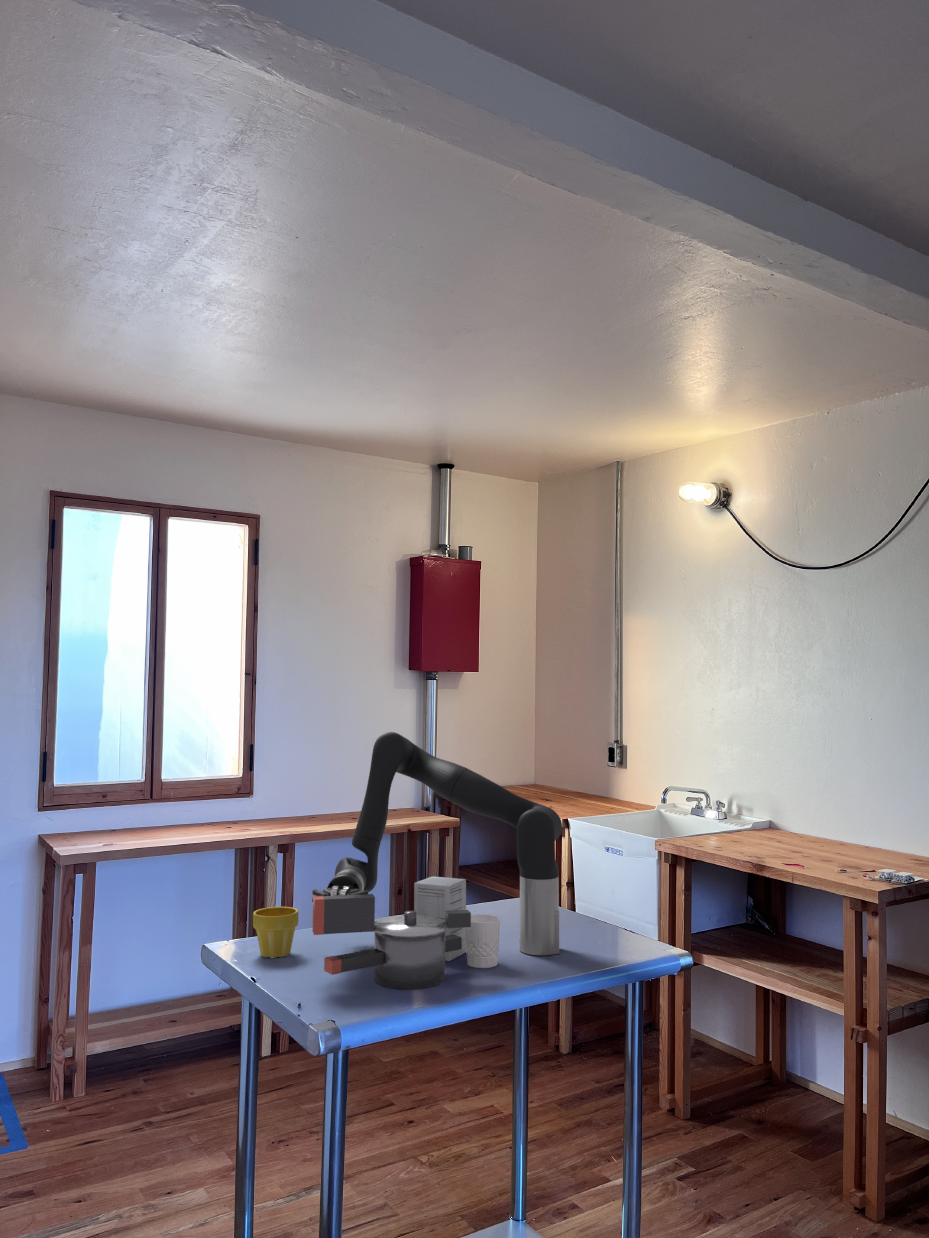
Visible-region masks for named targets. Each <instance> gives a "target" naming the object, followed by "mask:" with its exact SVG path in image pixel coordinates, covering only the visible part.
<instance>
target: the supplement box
mask: <svg viewBox="0 0 929 1238" xmlns="http://www.w3.org/2000/svg"><path fill="white" fill-rule="evenodd" d="M413 890H414V891H413V893H414V894H413V897H414V898H413V899H414V900H413V906H414V909H413V911H416V912H417V915H422V916H431V917H436V918H440V919H443V920H445V911H451V910H467V879H465V878H455V877H443V876H430V877H427V878H425V879H421V880H417V882H416V881H415V882H414V884H413ZM447 935H456V936H459V937H462V949H460V950H455V951H450V952H445V962H451V961H452V960H454V959H456V958H458V957H460V956H461V955H463V954H465V953H467V950H466V928H465V927H464V928H447V931H446V932H445V936H447Z"/></svg>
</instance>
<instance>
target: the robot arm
mask: <svg viewBox="0 0 929 1238" xmlns="http://www.w3.org/2000/svg"><path fill="white" fill-rule="evenodd" d="M396 773H398V774H400V775H403V776H406V777H409V778H411V779H413V780H416V781H418V782H420V783H421V784H423V785H426V786H427V787H428V788H429V789H431V790H432V791H433V792H434V793H436V794H437V795H439V796H440V797H441V798H443V799H445V800H447V801H449V802H450V803H452V804H453V805H456V806H458V807H459V808H461V809H463V810H466V811H467V812H468V811H469V812H471V813H473V814H475V815H476V814H477V815H480V816H484V817H487V818H491V819H494V820H499V821H501V822H503V823H506V824H508V825H511V826H512V827H513V828H515V829H516V860H517V865H518V869H519V943H518V944H519V951H520V952H522V953H523V954H527V955H530V956H531V955H533V956H551V955H559V954H560V910H559V909H560V908H559V905H560V903H559V902H560V901H559V900H560V899H559V897H560V895H559V894H560V893H559V890H560V889H559V888H560V886H559V885H560V884H559V883H560V882H559V880H560V879H559V877H560V874H559V871H560V870H559V865H558V863H557V861H556V847H555V846H556V845H555V842H556V841H557V839H559V837H560V836H561V834H562V832H563V822H562V819H561V817H560V816H559V814H558V813H557V812H556V811H555V810H554V809H552V808H551V807H549V806H546V805H543V804H540V803H537V802H534V801H532V800H529V799H527V798H524V797H521V796H520V795H518V794H515V793H513V792H511V791H509V789H507V788H505V787H503V786H501V785H499V784H498V783H496V782H494V781H492V780H491V779H489V778H487V777H484V776H483V775H481V774H480V773H477V772H476V771H473V770H471V769H469V768H467V767H465V766H462V765H460V764H458V763H455V762H452V761H449V760H446V759H442V758H439V757H436V756H434V755H432V754H431V753H429V752H427V751H425V750H424V749H422V748H421V747H419V746H418V745H416V744H415V743H414V742H412V741H411V740H410V739H408V738H407V737H405V736H403V735H402V734H400V733H398V732H394V731H386V732H383V733H382V734H380V736H378V737H377V738H376V740H375V742H374V744H373V749H372V754H371V760H370V768H369V774H368V780H367V784H366V785H367V786H366V790H365V795H364V799H363V803H362V806H361V810H360V812H359V817H358V821H357V823H356V826H355V830H354V834H353V836H352V840H351V845H352V847H354V849H356V850H358V851H360V852H362V853H363V854H364V855H365V856H366V857H367V862H366V861H363V860H360V859H357V858H352V857H343V858H342V859H340V860H339V861H338V863H337V865H336V867H335V870H334V876H333V878H332V879H331V880H330V881H329V883H328V885H327V886H326V888H325V889H323V890H318V889H313V890H312V892H311V893H312V895H311V899H312V900H311V901H312V903H313V896H338V895H361V894H369V893H370V892H372V891H373V890H374V888H375V887H376V885H377V882H378V865H379V863H378V861H379V851H380V847H381V843H382V839H383V836H384V833H385V830H386V827H387V822H388V821H387V820H388V814H389V804H390V803H389V801H390V793H391V787H392V783H393V781H394V778H395V775H396Z"/></svg>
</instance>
